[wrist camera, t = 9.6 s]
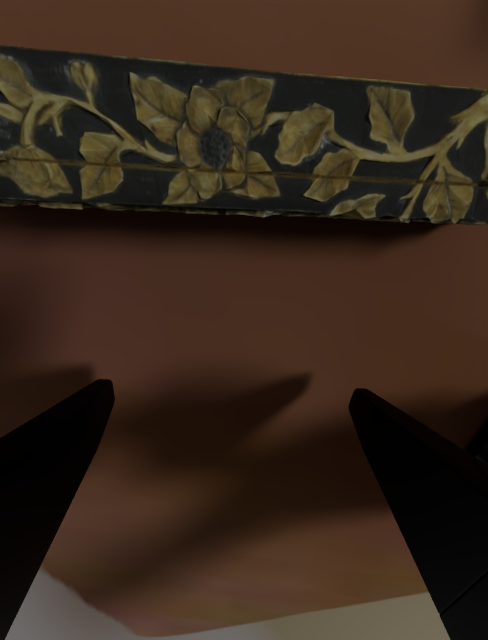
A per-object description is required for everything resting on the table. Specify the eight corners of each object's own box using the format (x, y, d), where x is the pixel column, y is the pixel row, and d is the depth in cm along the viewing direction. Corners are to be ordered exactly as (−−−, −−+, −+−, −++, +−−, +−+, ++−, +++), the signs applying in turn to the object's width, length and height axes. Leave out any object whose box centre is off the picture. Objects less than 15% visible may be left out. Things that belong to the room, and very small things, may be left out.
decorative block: (-2, 203, 7) (-171, 202, 4) (-37, 102, 6) (-297, -1, 3) (460, 223, 9) (594, 233, 6) (492, 142, 8) (679, 98, 5)
